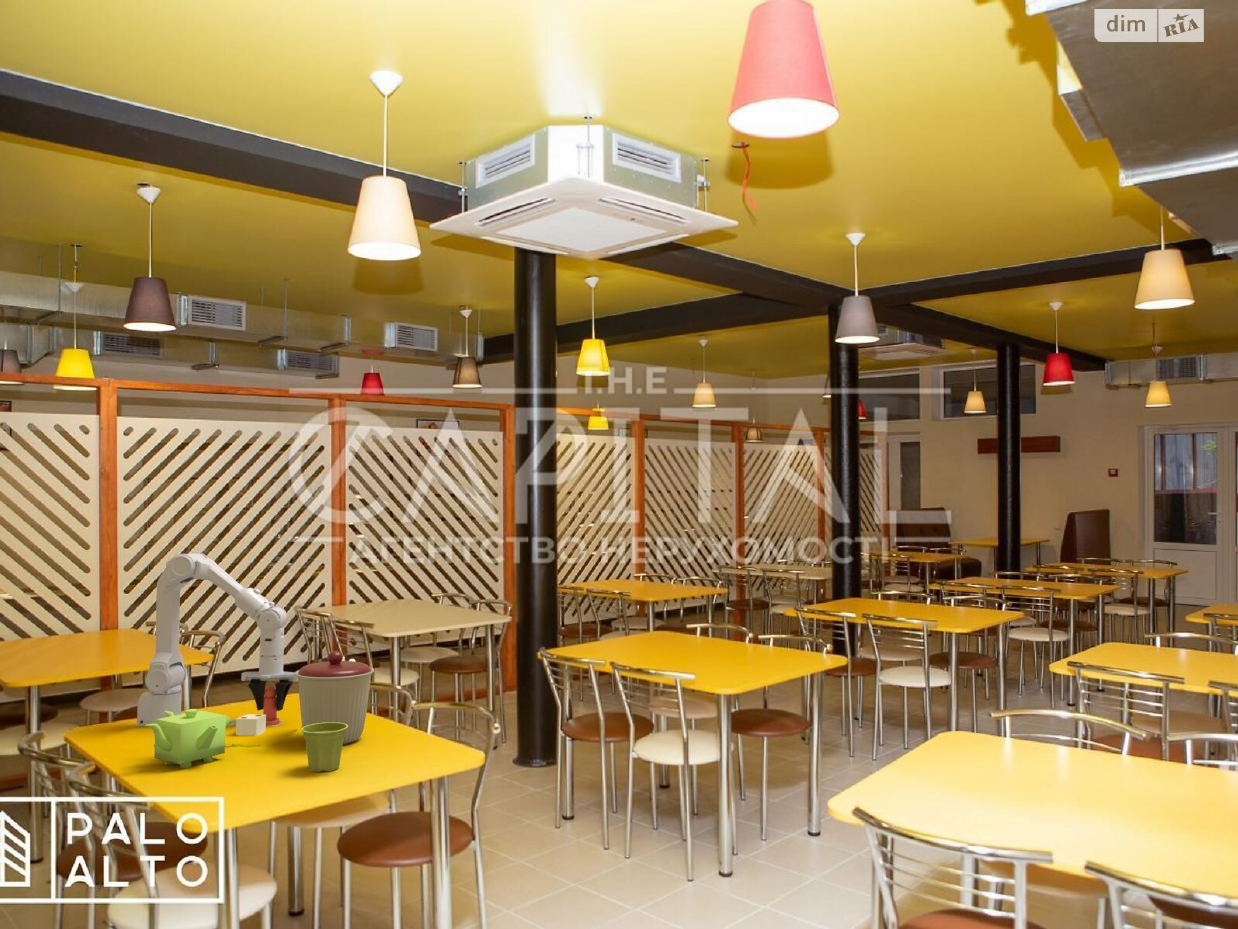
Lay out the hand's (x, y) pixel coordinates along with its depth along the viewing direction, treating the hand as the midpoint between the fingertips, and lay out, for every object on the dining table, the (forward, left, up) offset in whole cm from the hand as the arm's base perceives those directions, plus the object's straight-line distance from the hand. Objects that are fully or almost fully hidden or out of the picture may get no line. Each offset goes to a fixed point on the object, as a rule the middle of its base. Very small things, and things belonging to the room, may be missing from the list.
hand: (270, 710), depth 228 cm
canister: (+21, -12, -5) cm, 24 cm away
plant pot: (+28, -34, -5) cm, 45 cm away
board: (-8, 0, -4) cm, 9 cm away
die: (0, -10, -4) cm, 11 cm away
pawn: (0, 0, -3) cm, 3 cm away
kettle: (-3, -32, -5) cm, 33 cm away
